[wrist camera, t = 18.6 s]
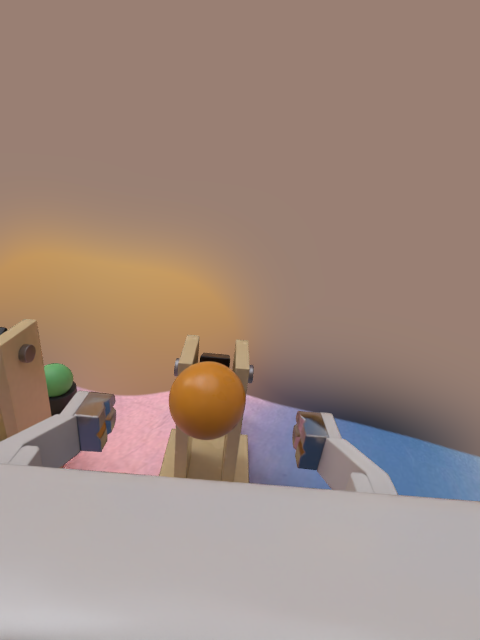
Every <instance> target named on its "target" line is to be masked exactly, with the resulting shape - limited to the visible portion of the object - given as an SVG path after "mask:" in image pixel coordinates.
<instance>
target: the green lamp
mask: <svg viewBox="0 0 480 640" xmlns="http://www.w3.org/2000/svg"><path fill="white" fill-rule="evenodd" d="M44 371H45V377H46V384H47V390H48V396H49V403H50V409H51V416H54V415H56V414H60V413H61V412H62V411H63V409H64V408H65V407H66V405H67V404H68V403H69V401H70V400H71V399H72V398H73V396H74V395H75V394H76V392H77V389H76V384H75V383H74V381H73V375H72V372H71V370H70V369H69V368H68V367H66V366H65V365H63V364H58V363H52V364H48V365H46V366H44Z"/></svg>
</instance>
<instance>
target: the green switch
mask: <svg viewBox="0 0 480 640" xmlns="http://www.w3.org/2000/svg"><path fill="white" fill-rule="evenodd" d="M6 331H7V329H6V328H3V327H0V335H1V334H3V333H4V332H6Z"/></svg>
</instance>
